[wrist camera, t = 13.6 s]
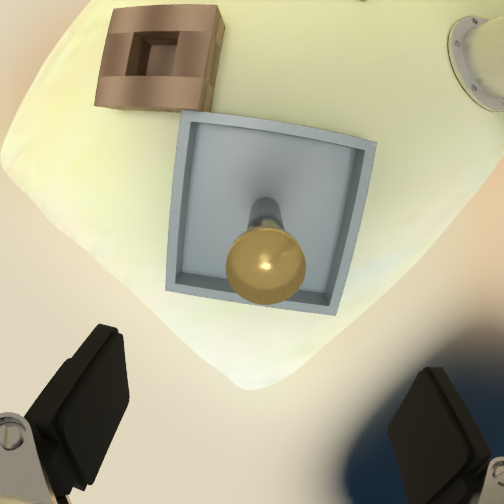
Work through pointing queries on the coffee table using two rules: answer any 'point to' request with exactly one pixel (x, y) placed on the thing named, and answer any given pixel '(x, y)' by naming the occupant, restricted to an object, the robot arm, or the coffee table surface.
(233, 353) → the coffee table surface
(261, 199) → the pin
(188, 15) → the holder block
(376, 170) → the coffee table surface
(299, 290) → the tray
